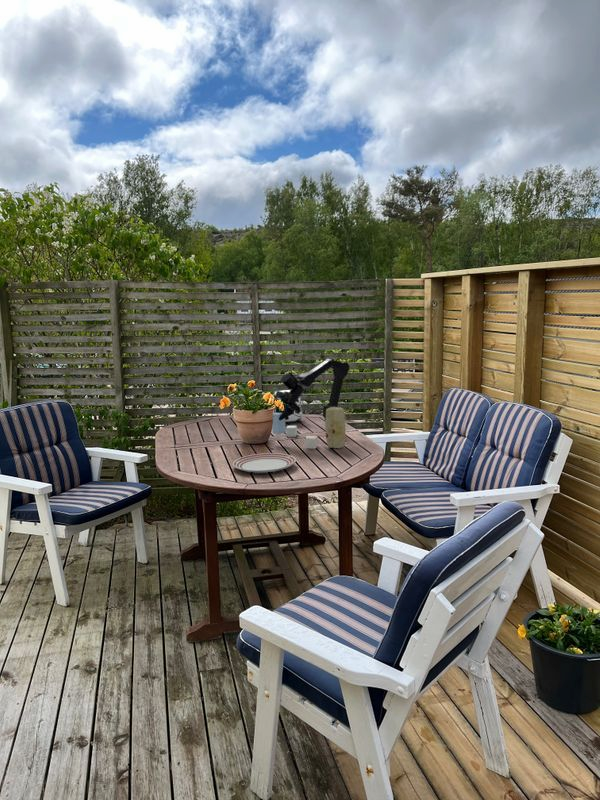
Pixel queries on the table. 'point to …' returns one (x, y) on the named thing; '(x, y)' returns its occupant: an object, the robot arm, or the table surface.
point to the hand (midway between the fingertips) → (276, 419)
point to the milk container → (295, 416)
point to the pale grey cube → (291, 431)
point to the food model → (335, 427)
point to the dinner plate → (264, 462)
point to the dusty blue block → (278, 424)
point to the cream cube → (311, 441)
